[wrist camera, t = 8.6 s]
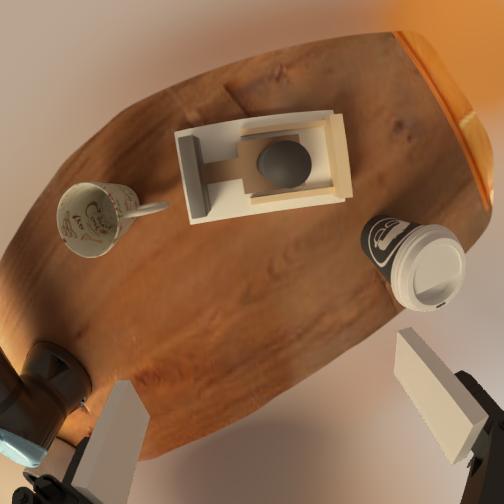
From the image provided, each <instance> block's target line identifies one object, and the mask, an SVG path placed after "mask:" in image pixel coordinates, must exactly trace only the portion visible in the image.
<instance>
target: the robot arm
mask: <svg viewBox="0 0 504 504" xmlns="http://www.w3.org/2000/svg"><path fill="white" fill-rule="evenodd" d="M394 374H395V376H396V377H397V379H398V380H399V382H400V383H401V385H402V386H403V388H404V390H405V391H406V393H407V394H408V396H409V397H410V399H411V400H412V402H413V403H414V405H415V407H416V408H417V410H418V411H419V413H420V414H421V416H422V418H423V419H424V421H425V422H426V424H427V425H428V427H429V429H430V430H431V432H432V434H433V435H434V437H435V438H436V440H437V442H438V443H439V445H440V447H441V448H442V450H443V452H444V453H445V455H446V457H447V458H448V460H449V462H450V463H451V465H453V464H455V463H457V462H459V461H461V460H462V459H464V458H466V457H467V455H468V454H469V452H470V450H472V452H473V453H474V456H473V457H472V459H471V460H470V462H469V463H468V466H467V468H469V467H470V465H471V467H470V471H469V475H468V479H467V483H466V486H465V490H464V493H463V496H462V500H461V503H460V504H504V411H503V410H502V409H501V408H500V407H499V406H498V405H497V404H496V402H495V401H494V400H493V399H492V398H491V397H490V396H489V394H488V393H487V392H486V391H485V390H483V388H482V386H481V385H480V384H478V382H477V381H476V380H475V379H474V378H473V377H472V376H471V375H470V374H468V373H466V372H464V371H462V370H461V371H459V372H457V373H455V374H453V373H452V371H451V370H450V369H449V368H448V367H447V366H446V365H445V364H444V362H443V361H442V360H441V359H440V358H439V357H438V356H437V355H436V354H435V352H434V351H433V350H432V349H431V348H430V347H429V346H428V345H427V344H426V343H425V341H424V340H423V339H422V338H421V337H420V336H419V335H418V334H417V333H416V332H415V331H414V330H413V329H412V328H411V327H409V328H406V329H403V330H400V331H398V333H397V346H396V357H395V367H394ZM90 394H91V382H90V379H89V377H88V375H87V373H86V371H85V370H84V368H83V367H82V366H81V364H80V363H79V362H78V361H77V360H76V359H75V358H74V357H73V356H72V355H71V354H70V353H68V352H67V351H66V350H64V349H63V348H61V347H59V346H57V345H55V344H53V343H49V342H39V343H36V344H35V345H34V346H33V347H32V348H31V349H30V350H29V352H28V353H27V356H26V360H25V362H24V365H23V368H22V371H21V374H20V375H18V374H17V372H16V371H15V369H14V368H13V366H12V365H11V363H10V361H9V360H8V358H7V357H6V355H5V353H4V352H3V350H2V348H1V347H0V452H1V453H2V454H4V455H5V456H6V457H8V458H10V459H11V460H13V461H15V462H17V463H19V464H21V465H24V466H26V467H30V468H35V467H38V466H39V465H40V464H41V462H42V461H43V459H44V458H45V456H46V455H47V454H48V451H49V449H50V447H51V445H52V443H53V441H54V439H55V438H56V436H57V434H58V432H59V430H60V428H61V426H62V425H63V423H64V421H65V419H66V418H67V416H68V415H70V414H71V413H72V412H74V411H75V410H76V409H78V408H79V407H80V406H82V405H83V404H84V403H85V402H86V401H87V399H88V397H89V396H90ZM149 419H150V416H149V414H148V412H147V411H146V409H145V407H144V405H143V404H142V402H141V400H140V398H139V396H138V395H137V393H136V391H135V389H134V387H133V385H132V383H131V381H130V380H117V381H116V383H115V385H114V387H113V389H112V391H111V394H110V396H109V398H108V400H107V402H106V404H105V406H104V408H103V411H102V413H101V415H100V417H99V419H98V422H97V424H96V426H95V428H94V431H93V433H92V435H91V437H84V438H83V439H82V440H81V442H80V443H79V444H78V445H77V448H76V450H75V452H74V453H75V454H73V457H72V461H70V464H69V466H68V468H67V471H66V473H65V475H64V478H63V480H62V482H59V481H58V480H57V479H56V478H55V477H54V476H52V475H50V474H45V475H41V476H40V477H38V478H37V479H36V481H35V482H34V485H33V488H34V489H33V490H34V492H36V493H33V492H32V491H31V490H30V489H29V488H27V487H19V488H18V489H17V490H15V492H14V493H13V497H12V504H127V500H128V496H129V492H130V488H131V484H132V480H133V477H134V473H135V469H136V465H137V461H138V458H139V454H140V450H141V447H142V443H143V439H144V436H145V432H146V429H147V425H148V422H149Z"/></svg>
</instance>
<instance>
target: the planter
mask: <svg viewBox="0 0 504 504" xmlns="http://www.w3.org/2000/svg"><path fill="white" fill-rule="evenodd" d="M75 450H76V449H75V448H74V447H73V446H71V445H70V444H68V443H66V442H65V441H63V440H61V439H58V438H55V439H54V441H53V443H52V445H51V447H50V449H49V451H48V454H47V455H46V456H45V458H44V459H43V461H42V462H41V464H40V465H39V466H38V467H35V468H30V467H25V469H24V471H23V475H24V477H25V478H26V480H27V481H28V482H29V483H30V484H32V485H34V482H35V481H36V479H37V478H38V477H40V476H41V475H45V474H50V475H52V476H54V477H55V478H56V479H57V480H58V481H59V482H62V480H63V478H64V475H65V473H66V471H67V468H68V466H69V464H70V461H72V457H73V454H75V453H74V452H75Z"/></svg>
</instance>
